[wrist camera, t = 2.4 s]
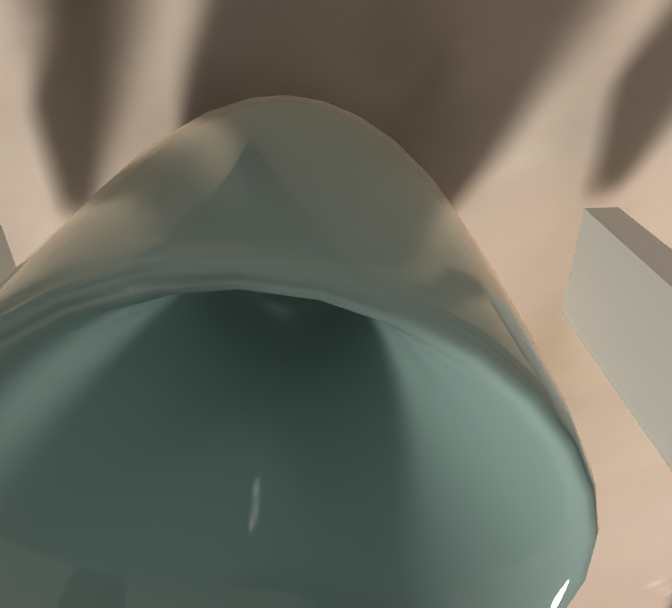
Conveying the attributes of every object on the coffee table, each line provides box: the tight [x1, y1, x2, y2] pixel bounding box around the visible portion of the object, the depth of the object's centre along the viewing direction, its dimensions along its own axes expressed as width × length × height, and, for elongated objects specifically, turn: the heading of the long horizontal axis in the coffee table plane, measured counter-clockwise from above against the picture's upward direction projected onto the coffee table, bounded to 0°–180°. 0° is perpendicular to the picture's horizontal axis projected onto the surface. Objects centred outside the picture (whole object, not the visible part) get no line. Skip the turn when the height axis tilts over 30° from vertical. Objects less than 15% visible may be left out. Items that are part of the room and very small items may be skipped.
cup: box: [0, 95, 599, 608], centre depth 10 cm, size 8×8×10 cm
